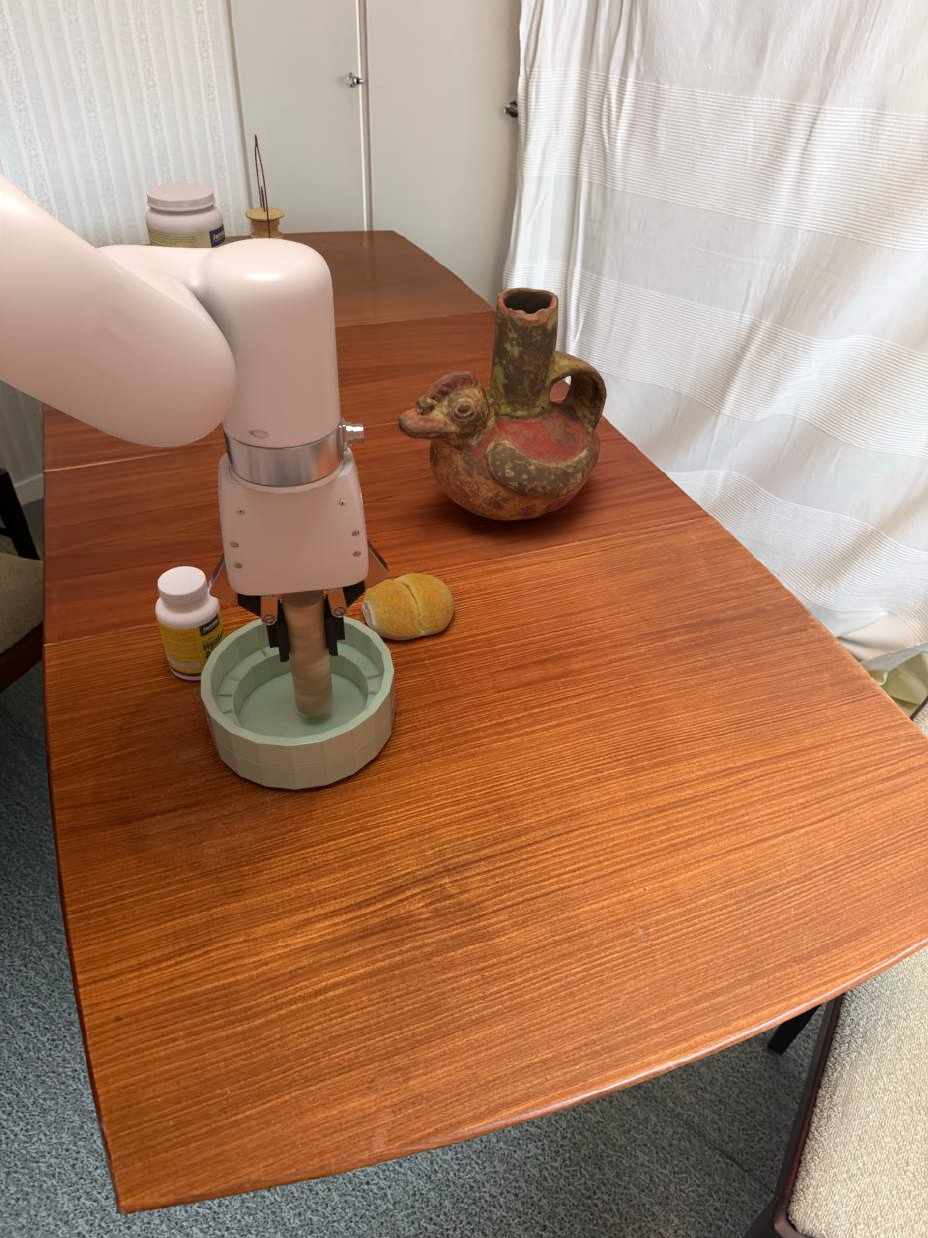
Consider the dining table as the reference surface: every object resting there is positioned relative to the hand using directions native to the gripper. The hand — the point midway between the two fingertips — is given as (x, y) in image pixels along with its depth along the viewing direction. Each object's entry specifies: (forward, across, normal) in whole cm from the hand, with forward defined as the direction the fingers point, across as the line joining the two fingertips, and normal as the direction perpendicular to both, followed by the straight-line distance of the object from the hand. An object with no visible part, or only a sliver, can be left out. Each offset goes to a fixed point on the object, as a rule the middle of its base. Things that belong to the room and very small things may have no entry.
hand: (308, 645), depth 67 cm
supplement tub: (+9, +12, -101) cm, 102 cm away
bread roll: (+9, -10, -12) cm, 18 cm away
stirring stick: (+7, 0, 0) cm, 7 cm away
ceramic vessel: (+9, -24, -29) cm, 39 cm away
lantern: (+9, -1, -75) cm, 76 cm away
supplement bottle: (+9, +10, -9) cm, 16 cm away
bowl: (+9, +1, 0) cm, 9 cm away
